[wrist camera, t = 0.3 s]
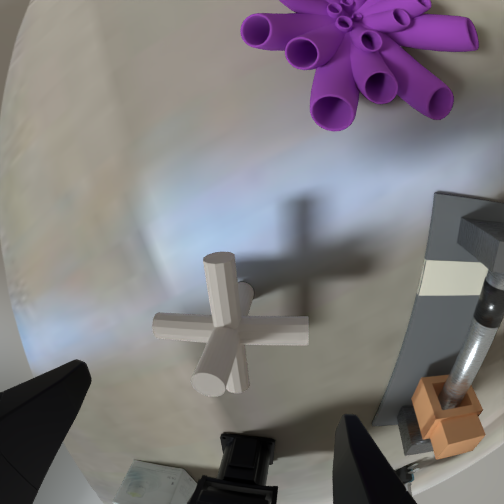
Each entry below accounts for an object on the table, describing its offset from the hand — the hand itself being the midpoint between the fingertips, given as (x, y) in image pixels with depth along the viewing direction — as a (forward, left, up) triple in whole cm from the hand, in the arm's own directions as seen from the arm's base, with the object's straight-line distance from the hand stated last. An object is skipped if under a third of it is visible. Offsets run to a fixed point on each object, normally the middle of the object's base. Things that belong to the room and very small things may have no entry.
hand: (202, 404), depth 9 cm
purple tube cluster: (+15, -7, -14) cm, 22 cm away
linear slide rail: (-8, -18, -14) cm, 24 cm away
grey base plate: (-8, -18, -14) cm, 24 cm away
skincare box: (-42, +16, -15) cm, 47 cm away
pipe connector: (-4, +1, -14) cm, 15 cm away
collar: (-13, -18, -13) cm, 25 cm away
